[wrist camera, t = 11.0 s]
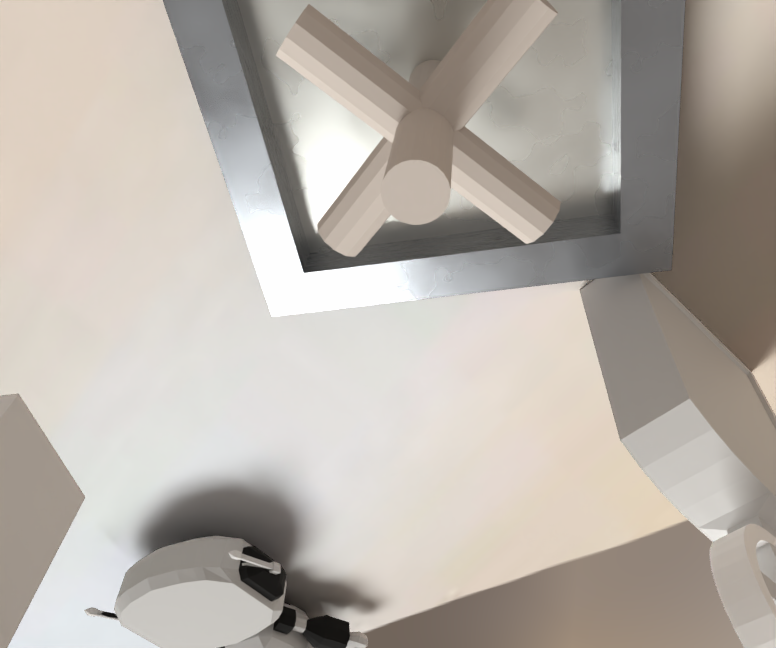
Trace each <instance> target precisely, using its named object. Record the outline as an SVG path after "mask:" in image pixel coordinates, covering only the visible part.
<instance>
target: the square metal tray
mask: <svg viewBox="0 0 776 648" xmlns="http://www.w3.org/2000/svg"><path fill="white" fill-rule="evenodd" d="M487 1H488V0H163V2H164V5H165V8H166V11H167V14H168V17H169V20H170V23H171V26H172V29H173V31H174V34H175V37H176V40H177V43H178V46H179V49H180V52H181V55H182V58H183V60H184V63H185V66H186V69H187V72H188V75H189V78H190V81H191V84H192V87H193V89H194V92H195V95H196V98H197V101H198V104H199V107H200V110H201V113H202V116H203V118H204V121H205V124H206V127H207V130H208V133H209V136H210V139H211V142H212V145H213V147H214V150H215V153H216V156H217V159H218V162H219V165H220V168H221V171H222V174H223V176H224V179H225V182H226V185H227V188H228V191H229V194H230V197H231V200H232V203H233V205H234V208H235V211H236V214H237V217H238V220H239V223H240V226H241V229H242V232H243V234H244V237H245V240H246V243H247V246H248V249H249V252H250V255H251V258H252V261H253V263H254V266H255V269H256V272H257V275H258V278H259V281H260V284H261V287H262V290H263V292H264V295H265V298H266V301H267V304H268V307H269V310H270V313H271V316H272V317H274V316H282V315H291V314H300V313H308V312H317V311H325V310H334V309H343V308H351V307H360V306H368V305H377V304H385V303H394V302H403V301H411V300H420V299H428V298H437V297H445V296H454V295H463V294H471V293H480V292H488V291H497V290H506V289H514V288H523V287H531V286H540V285H548V284H557V283H566V282H574V281H583V280H591V279H600V278H608V277H617V276H626V275H634V274H643V273H651V272H660V271H669V270H672V254H673V235H674V215H675V195H676V175H677V156H678V136H679V116H680V96H681V77H682V57H683V37H684V17H685V0H547V1H548V2H549V3H550V4H551V5H552V6H553V7H554V8H555V10H556V11H557V12H558V14H557V16H556V17H555V18H554V19H553V20H552V22H551V23H550V24H549V25H548V26H547V28H546V29H545V30H544V31H543V32H542V34H541V35H540V36H539V37H538V38H537V40H536V41H535V42H534V43H533V44H532V46H531V47H530V48H529V49H528V50H527V52H526V53H525V54H524V55H523V56H522V58H521V59H520V60H519V61H518V62H517V64H516V65H515V66H514V67H513V68H512V70H511V71H510V72H509V73H508V74H507V76H506V77H505V78H504V79H503V81H502V82H501V83H500V84H499V85H498V87H497V88H496V89H495V90H494V91H493V93H492V94H491V95H490V96H489V97H488V99H487V100H486V101H485V102H484V103H483V105H482V106H481V107H480V108H479V109H478V111H477V112H476V113H475V114H474V115H473V117H472V118H471V119H470V120H469V121H468V123H467V124H466V125H465V127H466V128H467V129H469V130H470V131H471V132H473V133H474V134H475V135H476V136H478V137H479V138H480V139H481V140H483V141H484V142H485V143H486V144H488V145H489V146H490V147H492V148H493V149H494V150H495V151H497V152H498V153H499V154H500V155H502V156H503V157H504V158H506V159H507V160H508V161H509V162H511V163H512V164H513V165H514V166H516V167H517V168H518V169H519V170H521V171H522V172H523V173H525V174H526V175H527V176H528V177H530V178H531V179H532V180H533V181H535V182H536V183H537V184H539V185H540V186H541V187H542V188H544V189H545V190H546V191H547V192H549V193H550V194H551V195H552V196H554V197H555V198H556V199H558V200H559V201H560V202H561V204H560V211H559V213H558V214H557V216H556V218H555V220H554V222H553V223H552V224H551V226H550V227H549V228H548V229H547V231H546V232H545V233H544V234H543V235H542V236H540V237H539V238H538V239H537V240H535V241H534V242H531V243H528V244H526V243H524V242H523V241H522V240H520V239H519V238H518V237H516V236H515V235H514V234H512V233H511V232H510V231H508V230H507V229H506V228H504V227H503V226H502V225H500V224H499V223H498V222H496V221H495V220H494V219H492V218H491V217H490V216H488V215H487V214H486V213H484V212H483V211H482V210H480V209H479V208H478V207H476V206H475V205H474V204H472V203H471V202H470V201H468V200H467V199H466V198H465V197H463V196H462V195H461V194H459V193H458V192H457V191H455V190H454V189H453V188H451V193H450V200H449V203H448V206H447V208H446V209H445V211H444V212H443V214H442V215H440V216H439V217H438V218H437V219H435V220H433V221H431V222H429V223H426V224H421V225H411V224H407V223H403V222H401V221H399V220H397V219H396V218H394V217H393V216H392V215H390V216H389V218H388V219H387V220H386V221H385V222H384V224H383V225H382V226H381V227H380V228H379V230H378V231H377V232H376V233H375V234H374V236H373V237H372V238H371V239H370V241H369V242H368V243H367V244H366V245H365V247H364V248H363V249H362V250H361V251H360V253H358V254H357V255H356V256H355V257H351V256H345V255H343V254H341V253H339V252H337V251H335V250H333V249H332V248H331V247H330V246H329V245H328V244H327V243H325V242H324V240H323V239H322V237H321V236H320V234H319V232H318V227H317V223H318V222H319V221H320V219H321V218H322V217H323V215H324V214H325V213H326V211H327V210H328V209H329V207H330V206H331V205H332V204H333V202H334V201H335V200H336V198H337V197H338V196H339V194H340V193H341V192H342V190H343V189H344V188H345V187H346V185H347V184H348V183H349V181H350V180H351V179H352V177H353V176H354V175H355V173H356V172H357V171H358V169H359V168H360V167H361V166H362V164H363V163H364V162H365V160H366V159H367V158H368V156H369V155H370V154H371V152H372V151H373V150H374V149H375V147H376V146H377V145H378V143H379V142H380V141H381V139H382V138H383V136H382V135H381V134H379V133H378V132H377V131H375V130H374V129H373V128H371V127H370V126H369V125H368V124H366V123H365V122H364V121H362V120H361V119H360V118H358V117H357V116H356V115H354V114H353V113H352V112H350V111H349V110H348V109H346V108H345V107H344V106H342V105H341V104H340V103H338V102H337V101H336V100H334V99H333V98H332V97H330V96H329V95H328V94H326V93H325V92H324V91H322V90H321V89H320V88H318V87H317V86H316V85H314V84H313V83H312V82H310V81H309V80H308V79H306V78H305V77H304V76H302V75H301V74H300V73H298V72H297V71H296V70H294V69H293V68H292V67H290V66H289V65H288V64H286V63H285V62H284V61H282V60H281V59H280V58H278V57H277V56H276V54H277V52H278V50H279V48H280V46H281V45H282V43H283V41H284V39H285V38H286V36H287V35H288V33H289V31H290V30H291V28H292V27H293V25H294V24H295V22H296V21H297V19H298V18H299V16H300V15H301V13H302V12H303V10H304V9H305V8H306V7H307V5H308V4H310V5H311V6H313V7H314V8H315V9H316V10H318V11H319V12H320V13H321V14H323V15H324V16H325V17H327V18H328V19H329V20H330V21H332V22H333V23H334V24H335V25H337V26H338V27H339V28H341V29H342V30H343V31H344V32H346V33H347V34H348V35H349V36H351V37H352V38H353V39H354V40H356V41H357V42H358V43H360V44H361V45H362V46H363V47H365V48H366V49H367V50H368V51H370V52H371V53H372V54H374V55H375V56H376V57H377V58H379V59H380V60H381V61H382V62H384V63H385V64H386V65H387V66H389V67H390V68H391V69H393V70H394V71H395V72H396V73H398V74H399V75H400V76H401V77H403V78H404V79H405V80H407V81H408V82H409V79H410V75H411V73H412V71H413V70H414V69H415V68H416V67H417V66H418V65H419V64H421V63H422V62H424V61H428V60H438V61H442V60H443V58H444V57H445V56H446V54H447V53H448V52H449V50H450V49H451V48H452V46H453V45H454V44H455V43H456V41H457V40H458V39H459V37H460V36H461V35H462V33H463V32H464V31H465V29H466V28H467V27H468V26H469V24H470V23H471V22H472V20H473V19H474V18H475V16H476V15H477V14H478V12H479V11H480V10H481V9H482V7H483V6H484V5H485V3H486V2H487Z"/></svg>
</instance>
